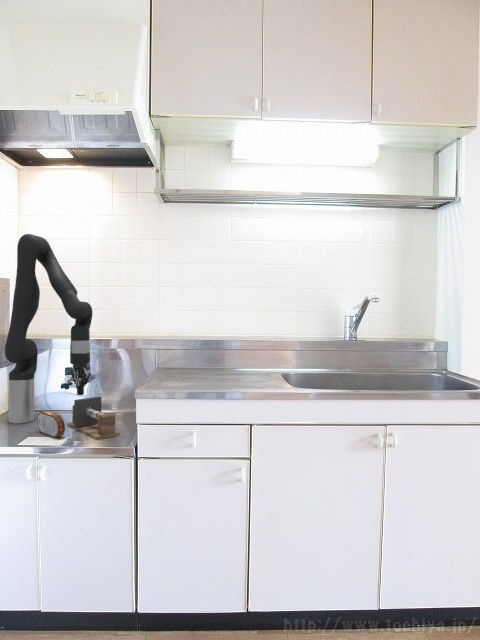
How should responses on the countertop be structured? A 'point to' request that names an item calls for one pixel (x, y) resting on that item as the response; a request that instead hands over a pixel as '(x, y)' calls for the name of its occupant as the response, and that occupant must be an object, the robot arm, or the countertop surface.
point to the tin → (51, 423)
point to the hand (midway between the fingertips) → (80, 394)
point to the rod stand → (97, 425)
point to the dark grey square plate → (79, 410)
